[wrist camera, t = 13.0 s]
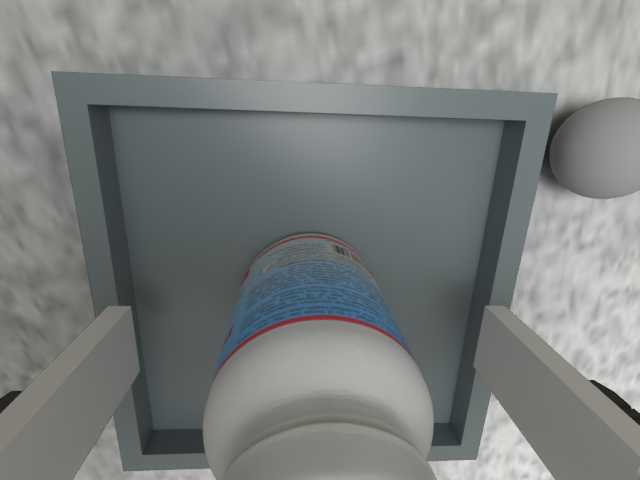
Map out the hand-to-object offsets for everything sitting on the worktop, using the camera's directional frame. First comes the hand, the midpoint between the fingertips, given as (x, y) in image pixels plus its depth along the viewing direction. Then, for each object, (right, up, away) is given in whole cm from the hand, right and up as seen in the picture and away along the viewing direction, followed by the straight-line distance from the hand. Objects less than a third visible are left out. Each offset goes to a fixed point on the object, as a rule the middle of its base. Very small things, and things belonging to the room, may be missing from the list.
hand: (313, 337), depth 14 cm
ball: (+12, +8, +3) cm, 15 cm away
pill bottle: (0, +1, +4) cm, 4 cm away
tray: (0, +1, +4) cm, 5 cm away
